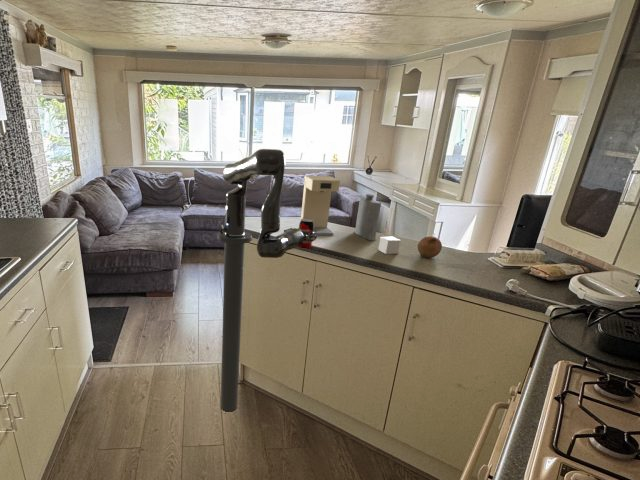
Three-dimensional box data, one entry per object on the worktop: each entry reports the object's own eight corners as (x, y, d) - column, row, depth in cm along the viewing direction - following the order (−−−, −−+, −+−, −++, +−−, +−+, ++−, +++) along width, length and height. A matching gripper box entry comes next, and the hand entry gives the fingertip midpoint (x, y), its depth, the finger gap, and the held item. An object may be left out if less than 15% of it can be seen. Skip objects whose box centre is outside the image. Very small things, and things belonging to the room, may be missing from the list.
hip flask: (376, 240, 203) (383, 197, 195) (368, 240, 202) (375, 198, 194) (359, 231, 217) (365, 191, 209) (352, 231, 216) (358, 191, 208)
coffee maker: (333, 235, 208) (340, 180, 198) (307, 235, 207) (313, 180, 196) (324, 227, 221) (330, 176, 211) (299, 227, 220) (305, 175, 209)
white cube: (378, 250, 189) (380, 236, 187) (390, 249, 190) (392, 236, 188) (385, 254, 184) (388, 240, 181) (398, 253, 185) (400, 240, 183)
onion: (429, 266, 180) (437, 248, 173) (410, 255, 185) (416, 237, 177) (442, 254, 184) (449, 237, 177) (422, 244, 189) (429, 227, 181)
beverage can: (314, 247, 189) (317, 220, 184) (305, 249, 185) (308, 222, 180) (303, 243, 193) (305, 217, 188) (294, 246, 189) (296, 219, 184)
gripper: (307, 233, 170) (324, 225, 183) (275, 227, 177) (294, 220, 190) (305, 251, 173) (322, 242, 186) (274, 244, 180) (292, 236, 193)
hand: (307, 231), depth 188 cm, fingers closed on beverage can, 6 cm apart
